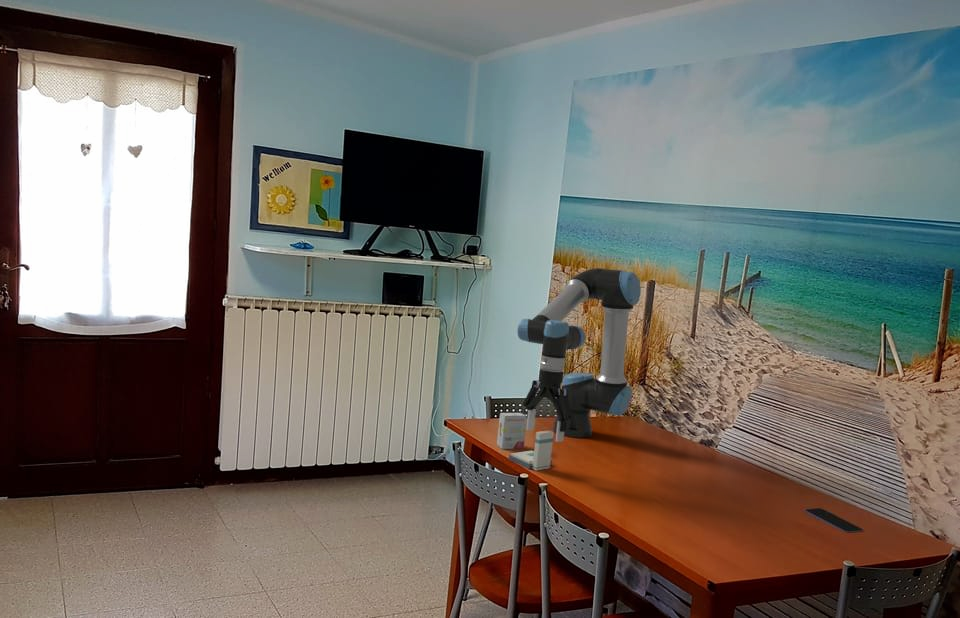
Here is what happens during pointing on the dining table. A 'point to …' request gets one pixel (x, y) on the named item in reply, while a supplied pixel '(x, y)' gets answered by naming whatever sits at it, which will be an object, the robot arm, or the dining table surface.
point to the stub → (542, 450)
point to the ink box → (511, 430)
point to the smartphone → (833, 520)
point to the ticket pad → (523, 458)
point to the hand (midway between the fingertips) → (544, 435)
